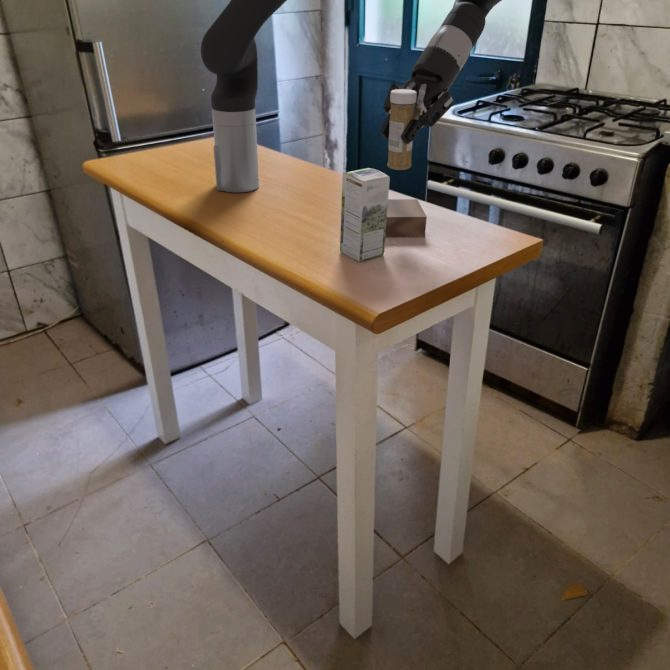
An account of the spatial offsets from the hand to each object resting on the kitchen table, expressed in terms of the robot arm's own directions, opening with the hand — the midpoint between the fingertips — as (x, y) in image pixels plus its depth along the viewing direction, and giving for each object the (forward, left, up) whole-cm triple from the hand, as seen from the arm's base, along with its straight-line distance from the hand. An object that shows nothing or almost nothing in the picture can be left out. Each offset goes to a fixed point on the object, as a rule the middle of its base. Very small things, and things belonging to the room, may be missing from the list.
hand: (394, 138), depth 113 cm
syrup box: (-6, -11, -18) cm, 22 cm away
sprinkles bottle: (+1, +1, -6) cm, 6 cm away
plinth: (+1, +1, -17) cm, 17 cm away
